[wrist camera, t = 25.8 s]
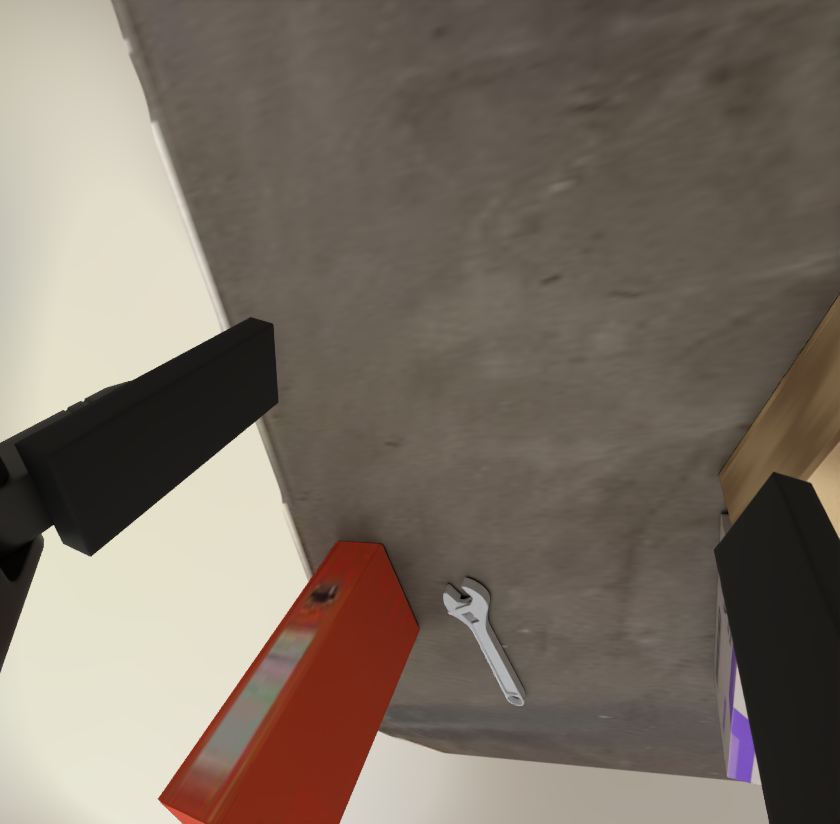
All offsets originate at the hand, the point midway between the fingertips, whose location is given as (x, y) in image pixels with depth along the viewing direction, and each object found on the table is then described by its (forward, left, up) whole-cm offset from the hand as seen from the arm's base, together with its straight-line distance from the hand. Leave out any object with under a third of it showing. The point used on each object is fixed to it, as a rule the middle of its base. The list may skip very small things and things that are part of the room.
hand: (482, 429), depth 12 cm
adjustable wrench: (+55, +5, -29) cm, 62 cm away
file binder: (+53, -12, -29) cm, 62 cm away
